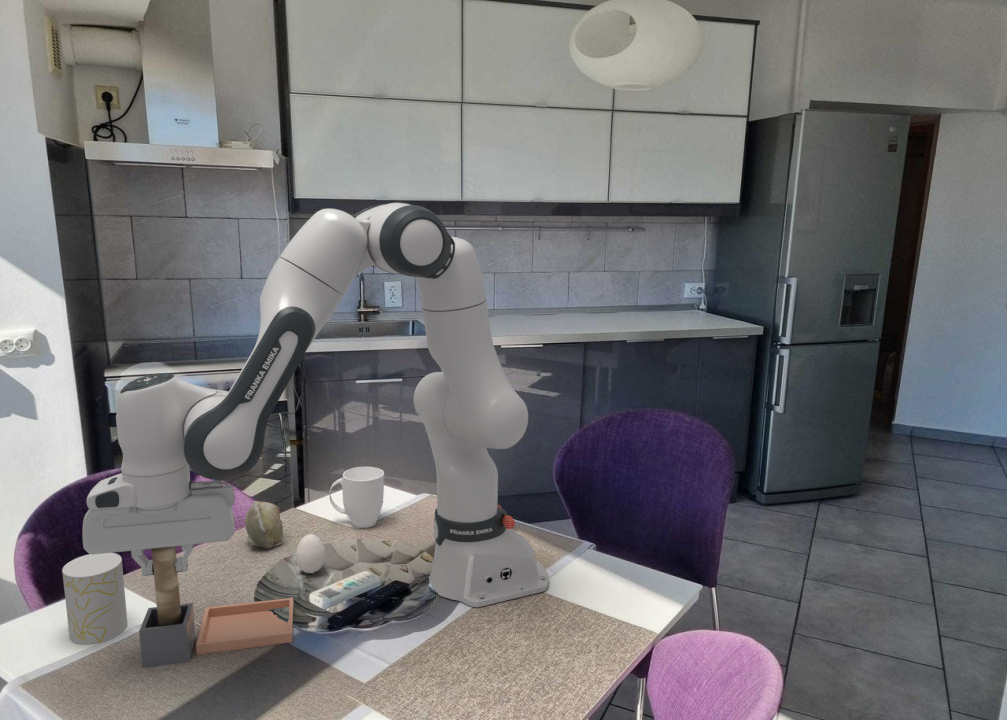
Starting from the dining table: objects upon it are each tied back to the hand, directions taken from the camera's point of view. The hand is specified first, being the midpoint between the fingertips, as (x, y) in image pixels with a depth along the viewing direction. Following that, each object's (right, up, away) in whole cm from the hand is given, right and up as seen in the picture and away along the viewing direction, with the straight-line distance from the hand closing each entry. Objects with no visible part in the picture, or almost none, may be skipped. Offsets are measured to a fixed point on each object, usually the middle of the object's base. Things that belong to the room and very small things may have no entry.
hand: (165, 572), depth 107 cm
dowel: (0, -8, +2) cm, 8 cm away
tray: (+9, -12, +9) cm, 18 cm away
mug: (+19, -5, +50) cm, 54 cm away
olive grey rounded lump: (+1, -6, +41) cm, 41 cm away
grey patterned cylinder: (-14, -12, +8) cm, 21 cm away
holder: (0, -14, +3) cm, 14 cm away
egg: (+14, -9, +29) cm, 33 cm away
